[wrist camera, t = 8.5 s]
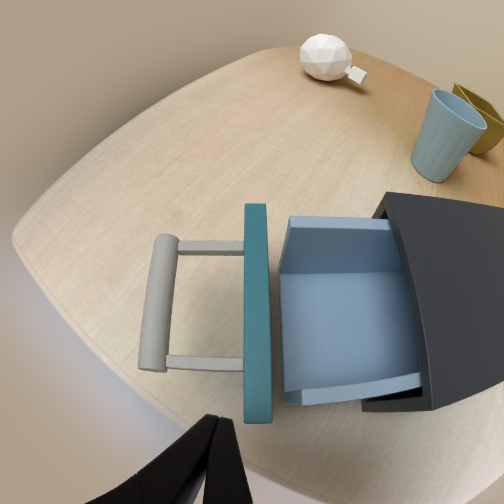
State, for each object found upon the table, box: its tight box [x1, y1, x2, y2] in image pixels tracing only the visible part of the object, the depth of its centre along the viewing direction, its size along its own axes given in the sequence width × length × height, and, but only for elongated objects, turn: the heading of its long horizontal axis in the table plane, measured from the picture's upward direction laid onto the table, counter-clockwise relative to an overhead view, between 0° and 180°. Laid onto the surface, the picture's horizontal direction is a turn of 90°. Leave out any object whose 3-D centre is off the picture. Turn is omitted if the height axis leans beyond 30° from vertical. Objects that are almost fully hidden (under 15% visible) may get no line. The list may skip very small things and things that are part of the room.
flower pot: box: [452, 83, 504, 155], centre depth 31 cm, size 9×9×9 cm
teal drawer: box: [138, 204, 422, 424], centre depth 16 cm, size 18×11×8 cm, turn 90°
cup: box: [412, 88, 487, 183], centre depth 26 cm, size 8×8×10 cm
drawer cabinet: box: [362, 192, 504, 412], centre depth 16 cm, size 15×13×9 cm
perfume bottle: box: [300, 34, 368, 84], centre depth 37 cm, size 9×9×12 cm
